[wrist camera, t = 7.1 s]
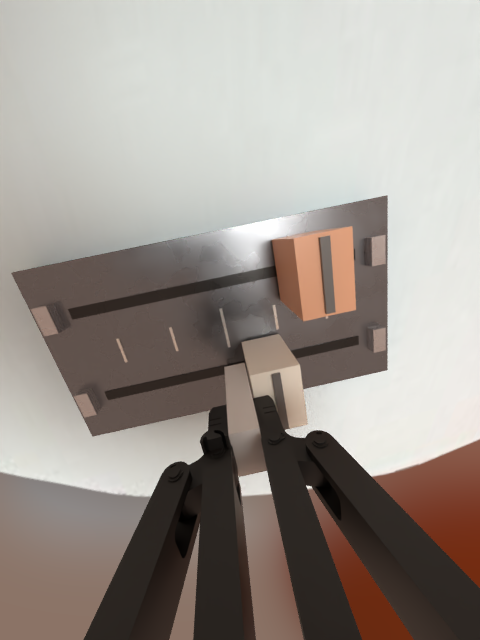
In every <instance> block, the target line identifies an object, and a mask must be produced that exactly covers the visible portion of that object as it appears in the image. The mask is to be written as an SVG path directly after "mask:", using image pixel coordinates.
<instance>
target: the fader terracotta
mask: <svg viewBox="0 0 480 640" xmlns="http://www.w3.org/2000/svg"><path fill="white" fill-rule="evenodd" d="M272 245H273V252H274V259H275V266H276V273H277V279H278V286H279V293H280V300H281V301H282V302H283V303H284V304H285V305H286V306H287V307H288V308H289V309H290V310H291V311H293V312H294V313H295V314H296V315H297V316H298V317H299V318H300V319H301V320H302V321H307V320H312V319H317V318H321V317H326V316H330V315H335V314H340V313H344V312H349V311H353V310H356V298H355V274H354V251H353V228H352V226H350V227H342V228H334V229H326V230H317V231H311V232H306V233H301V234H297V235H292V236H287V237H282V238H277V239H273V240H272Z"/></svg>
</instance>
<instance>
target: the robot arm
mask: <svg viewBox="0 0 480 640" xmlns="http://www.w3.org/2000/svg"><path fill="white" fill-rule="evenodd" d="M224 370H225V386H226V403H227V404H226V405H222V406H217V407H213V408H212V409H211V411H210V413H209V424H208V426H209V427H208V431H207V432H206V433H204V435H203V436H202V437H201V440H200V443H201V446H202V450H203V453H204V455H203V456H202V457H201V458H200V459H199V460H197V461H196V462H194V463H192V464H190V465H187V464H186V463H185V462H181V461H180V462H175V463H173V464H171V465H170V466H168V467H167V468H166V469H165V470H164V472H163V473H162V475H161V477H160V479H159V481H158V484H157V486H156V488H155V490H154V492H153V494H152V496H151V498H150V500H149V503H148V505H147V507H146V509H145V511H144V513H143V515H142V518H141V520H140V522H139V524H138V526H137V528H136V530H135V532H134V534H133V536H132V539H131V541H130V543H129V545H128V547H127V549H126V551H125V553H124V555H123V558H122V560H121V562H120V564H119V566H118V568H117V570H116V573H115V575H114V577H113V579H112V581H111V583H110V585H109V587H108V589H107V591H106V594H105V596H104V598H103V600H102V602H101V604H100V606H99V608H98V610H97V613H96V615H95V617H94V619H93V621H92V623H91V625H90V628H89V629H88V632H87V634H86V636H85V638H84V640H169V638H170V634H171V630H172V627H173V623H174V619H175V615H176V611H177V607H178V604H179V600H180V596H181V592H182V589H183V585H184V581H185V577H186V574H187V570H188V566H189V562H190V558H191V555H192V551H193V547H194V543H195V539H196V536H197V532H198V528H199V524H200V534H199V553H198V570H197V587H196V604H195V621H194V639H193V640H256V636H255V628H254V627H255V626H254V617H253V606H252V597H251V586H250V577H249V567H248V556H247V546H246V536H245V526H244V516H243V506H242V496H241V487H240V483H239V478H238V475H239V477H240V476H245V475H249V474H254V473H258V472H263V471H267V472H268V477H269V482H270V487H271V492H272V495H273V500H274V504H275V509H276V514H277V518H278V523H279V527H280V532H281V536H282V541H283V546H284V550H285V555H286V560H287V564H288V569H289V573H290V578H291V582H292V587H293V592H294V596H295V601H296V606H297V610H298V615H299V619H300V624H301V629H302V633H303V638H304V640H362V639H361V636H360V633H359V630H358V627H357V625H356V622H355V619H354V616H353V614H352V611H351V608H350V606H349V603H348V600H347V597H346V594H345V592H344V589H343V586H342V583H341V581H340V578H339V575H338V572H337V570H336V567H335V564H334V562H333V559H332V556H331V553H330V550H329V548H328V545H327V542H326V539H325V537H324V534H323V531H322V528H321V526H320V523H319V520H318V518H317V515H316V512H315V509H314V506H313V504H312V501H311V498H310V496H309V493H308V490H307V487H306V485H307V486H312V488H313V490H314V491H315V493H316V494H317V496H318V497H319V499H320V500H321V502H322V503H323V504H324V506H325V508H326V509H327V510H328V512H329V514H330V515H331V516H332V518H333V519H334V521H335V522H336V524H337V525H338V527H339V528H340V530H341V531H342V533H343V534H344V536H345V537H346V539H347V540H348V542H349V543H350V545H351V546H352V548H353V549H354V551H355V552H356V554H357V555H358V557H359V558H360V560H361V561H362V563H363V564H364V566H365V567H366V569H367V570H368V572H369V573H370V575H371V576H372V578H373V579H374V581H375V582H376V584H377V585H378V586H379V588H380V590H381V591H382V593H383V594H384V595H385V597H386V598H387V600H388V601H389V603H390V604H391V606H392V607H393V609H394V610H395V612H396V613H397V615H398V616H399V618H400V619H401V621H402V622H403V624H404V625H405V627H406V628H407V630H408V631H409V633H410V634H411V636H412V637H413V639H414V640H480V588H479V587H478V586H477V585H476V584H475V583H474V582H473V581H472V580H471V579H470V578H469V577H468V576H467V575H466V574H465V573H464V572H463V571H462V570H461V569H460V568H459V566H457V564H455V562H454V561H453V560H452V559H451V558H450V557H449V556H448V555H447V554H446V553H445V552H444V551H443V550H442V549H441V548H440V547H439V546H438V545H437V544H436V543H435V542H434V541H433V540H432V539H431V538H430V537H429V536H428V535H427V534H426V533H425V532H424V531H423V529H422V528H421V527H420V526H419V525H418V524H417V523H416V522H415V521H414V520H413V519H412V518H411V517H410V516H409V515H408V514H407V513H406V512H405V511H404V510H403V509H402V508H401V507H400V506H399V505H398V504H397V503H396V502H395V501H394V500H393V498H392V497H390V495H389V494H388V493H387V492H386V491H385V490H384V489H383V488H382V487H381V486H380V485H379V484H378V483H377V482H376V481H375V480H374V479H373V478H372V477H371V476H370V475H369V474H368V473H367V472H366V471H365V470H364V469H363V468H362V467H361V466H360V464H359V463H358V462H357V461H356V460H355V459H354V458H353V457H352V456H351V455H350V454H349V453H348V452H347V451H346V450H345V449H344V448H343V447H342V446H341V445H340V444H339V443H338V442H337V441H336V440H335V439H334V438H333V437H332V436H331V435H330V434H329V433H327V432H324V431H318V430H316V431H312V432H310V433H309V434H307V436H306V438H296V437H293V436H290V435H289V434H287V433H286V432H285V430H284V429H283V426H282V423H281V420H280V417H279V415H278V412H277V409H276V406H275V403H274V401H273V399H272V398H271V397H270V396H269V395H265V396H261V397H256V398H252V393H251V389H250V385H249V380H248V376H247V372H246V367H245V363H240V364H236V365H231V366H226V367H224Z"/></svg>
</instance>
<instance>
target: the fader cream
mask: <svg viewBox="0 0 480 640" xmlns="http://www.w3.org/2000/svg"><path fill="white" fill-rule="evenodd" d="M241 343H242V347H243V352H244V357H245V362H246V366H247V371H248V376H249V380H250V385H251V390H252V394H253V398H256V397H261V396H265V395H269V396H270V397H271V398H272V399H273V401H274V403H275V406H276V409H277V412H278V415H279V417H280V420H281V423H282V426H283V429H284V430H285V429H290V428H294V427H298V426H303V425H307V424H308V423H307V415H306V407H305V400H304V392H303V385H302V377H301V369H300V364H299V363H298V361H297V360H296V358H295V357H294V355H293V354H292V352H291V351H290V349H289V348H288V346H287V345H286V343H285V342H284V341H283V339H282V338H281V336H280V335H279V334H276V335H271V336H267V337H262V338H258V339H253V340H249V341H244V342H241Z"/></svg>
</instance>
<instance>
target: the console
mask: <svg viewBox="0 0 480 640" xmlns="http://www.w3.org/2000/svg"><path fill="white" fill-rule="evenodd" d="M350 226H352V228H353V251H354V274H355V298H356V310H353V311H349V312H344V313H340V314H335V315H330V316H326V317H321V318H317V319H312V320H307V321H302V320H301V319H300V318H299V317H298V316H297V315H296V314H295V313H294V312H293V311H291V310H290V309H289V308H288V307H287V306H286V305H285V304H284V303H283V302H282V301H281V300H280V293H279V286H278V279H277V273H276V266H275V259H274V252H273V245H272V240H273V239H277V238H282V237H287V236H292V235H297V234H301V233H306V232H311V231H317V230H326V229H334V228H342V227H350ZM12 275H13V277H14V279H15V281H16V283H17V285H18V287H19V289H20V291H21V293H22V295H23V297H24V299H25V301H26V303H27V305H28V307H29V309H30V311H31V313H32V315H33V318H34V320H35V322H36V324H37V326H38V328H39V330H40V332H41V334H42V336H43V338H44V340H45V342H46V344H47V346H48V348H49V350H50V352H51V354H52V356H53V358H54V360H55V362H56V364H57V366H58V368H59V370H60V372H61V374H62V376H63V378H64V380H65V382H66V384H67V386H68V388H69V390H70V392H71V394H72V396H73V398H74V400H75V402H76V404H77V406H78V408H79V410H80V412H81V414H82V416H83V418H84V420H85V422H86V424H87V426H88V428H89V430H90V432H91V434H92V436H97V435H101V434H106V433H110V432H115V431H119V430H124V429H128V428H132V427H137V426H141V425H146V424H150V423H155V422H159V421H164V420H168V419H172V418H177V417H181V416H186V415H190V414H195V413H199V412H203V411H208V410H211V409H212V408H213V407H217V406H222V405H226V404H227V403H226V386H225V370H224V367H226V366H231V365H236V364H240V363H245V367H246V372H247V376H248V371H247V366H246V362H245V357H244V352H243V347H242V343H241V342H244V341H249V340H253V339H258V338H262V337H267V336H271V335H276V334H279V335H280V336H281V338H282V339H283V341H284V342H285V343H286V345H287V346H288V348H289V349H290V351H291V352H292V354H293V355H294V357H295V358H296V360H297V361H298V363H299V364H300V369H301V377H302V385H303V389H305V388H310V387H314V386H319V385H323V384H328V383H332V382H337V381H341V380H345V379H350V378H354V377H359V376H363V375H368V374H372V373H376V372H381V371H385V370H387V196H382V197H378V198H373V199H368V200H363V201H358V202H353V203H348V204H344V205H339V206H334V207H329V208H324V209H319V210H314V211H310V212H305V213H300V214H295V215H290V216H285V217H280V218H276V219H271V220H266V221H261V222H256V223H251V224H246V225H241V226H237V227H232V228H227V229H222V230H217V231H212V232H207V233H203V234H198V235H193V236H188V237H183V238H178V239H173V240H169V241H164V242H159V243H154V244H149V245H144V246H139V247H135V248H130V249H125V250H120V251H115V252H110V253H105V254H101V255H96V256H91V257H86V258H81V259H76V260H71V261H67V262H62V263H57V264H52V265H47V266H42V267H37V268H32V269H28V270H23V271H18V272H13V273H12ZM248 380H249V376H248ZM249 385H250V380H249ZM250 389H251V385H250ZM251 393H252V390H251ZM252 398H253V394H252Z"/></svg>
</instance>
